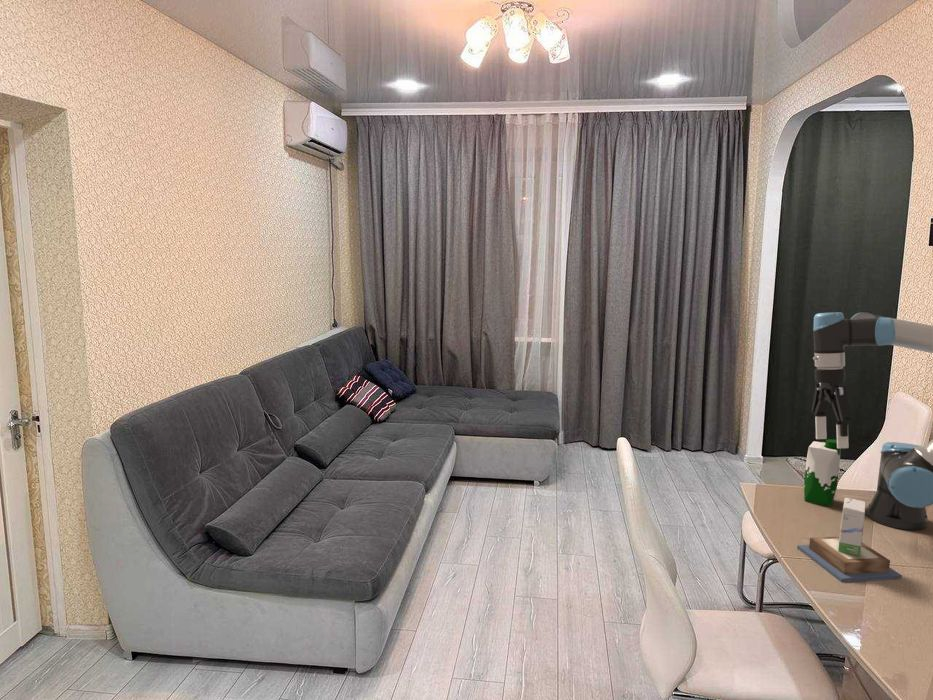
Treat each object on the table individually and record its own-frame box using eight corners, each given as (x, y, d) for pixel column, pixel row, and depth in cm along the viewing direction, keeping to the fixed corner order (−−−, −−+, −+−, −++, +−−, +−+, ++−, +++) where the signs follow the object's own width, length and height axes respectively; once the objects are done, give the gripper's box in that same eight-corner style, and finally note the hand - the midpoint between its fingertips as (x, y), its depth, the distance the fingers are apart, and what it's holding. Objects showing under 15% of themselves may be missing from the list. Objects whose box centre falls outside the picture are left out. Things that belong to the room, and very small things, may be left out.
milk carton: (832, 508, 212) (839, 445, 208) (800, 501, 217) (806, 439, 214) (837, 499, 218) (844, 439, 215) (806, 493, 224) (812, 433, 220)
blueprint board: (852, 545, 186) (852, 542, 186) (901, 578, 168) (902, 575, 168) (797, 548, 184) (797, 545, 184) (841, 581, 166) (841, 578, 166)
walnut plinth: (850, 546, 184) (852, 535, 183) (888, 571, 170) (890, 559, 169) (808, 548, 182) (810, 537, 182) (843, 574, 168) (845, 561, 168)
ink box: (860, 556, 171) (865, 511, 169) (837, 551, 173) (842, 507, 171) (861, 543, 178) (866, 500, 176) (839, 539, 180) (844, 496, 179)
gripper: (798, 365, 205) (800, 435, 206) (835, 372, 180) (837, 452, 181) (824, 364, 204) (826, 434, 205) (865, 371, 179) (867, 451, 180)
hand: (831, 443), depth 193 cm, fingers open, 13 cm apart
